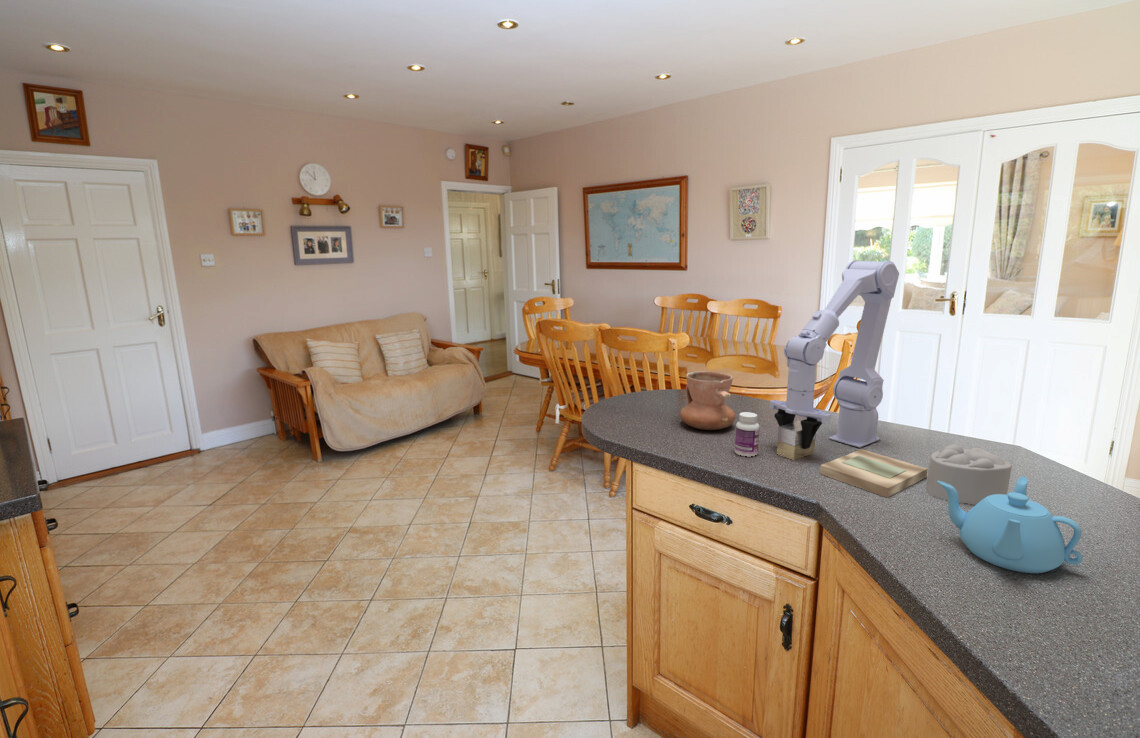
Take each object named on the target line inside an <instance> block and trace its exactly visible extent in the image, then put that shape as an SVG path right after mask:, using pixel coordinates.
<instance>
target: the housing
mask: <svg viewBox="0 0 1140 738" xmlns="http://www.w3.org/2000/svg"><path fill="white" fill-rule="evenodd" d="M801 421H802V420H801V419H800V420H796V421H794V422H792V423H789V424H786V425H783V426H779V425H778V430H777V431H778V432H777V445H776V446H777V447H776V455H777V454H778V455H777V456H779V455H781V456H780V457H782V456H783V457H782V458H785V457H786V459H788V458H789V459H788V460H790V459H792V460H791V461H793V460H794V461H796V459H797V460H799V459H802V458H804V456H805V457H807V456H810V455H812V453H813V454H815V447H816V439H817V438H816V436H817V432H816V433H815V435H814V438H813V440H812V443H811V446H810V448H807V449H802V426H801ZM801 457H802V458H801ZM798 458H799V459H798Z"/></svg>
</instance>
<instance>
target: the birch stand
mask: <svg viewBox="0 0 1140 738" xmlns="http://www.w3.org/2000/svg"><path fill="white" fill-rule="evenodd" d="M928 470H929V468H927V467H923V466H920V465H916V464H912V463H910V462H908V461H907V462H906V461H902V460H900V459H896V458H893V457H889V456H887V455H882V454H879V453H876V452H873V451H869V450H866V449H863V448H860V449H858V450H856V451H853V452H850V453H848V454H846V455H843V456H840V457H838V458H835V459H833V460H830V461H827V462H825V463H822V464H820V470H819V471H820V472H819V475H822V476H825V477H827V476H828V478H831V479H834V480H836V481H838V482H842V483H845V484H848V485H850V486H853V487H855V486H856V487H855V488H858V487H859V488H858V489H861V488H862V489H861V490H864V489H865V491H866V490H867V492H869V493H873V494H876V495H879V496H881V497H883V498H886V499H888V498H889V497H891V496H893V495H895V494H897V493H899V492H901V491H903V490H905V489H907V488H908V487H911V486H913V485H915V484H917V483H919V482H921V481H922V479H923V480H925V479H927V477H928ZM924 478H925V479H924ZM920 480H921V481H920ZM918 481H919V482H918Z"/></svg>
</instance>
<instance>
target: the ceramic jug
mask: <svg viewBox="0 0 1140 738" xmlns="http://www.w3.org/2000/svg"><path fill="white" fill-rule="evenodd" d="M685 378H686V386H685V397H686V401H687V405H684V406H683V407H682V409H681V411H680V418H681V420H682V422H684V423H685V424H686V425H687V426H689V427H691V428H694V429H698V430H702V431H717V430H723V429H725V428H728V427H730V426H731V425H733V423H734V422H735V420H736V413H735V411H734V409H732V408H731V407H730V406H728V405H727V404H726V403H725V400H726V399H728V398H729V397H731V394H730V389H731V387H732V384H733V376H732V375H731V374H727V373H721V372H717V371H716V372H715V371H709V370H702V371H701V370H698V371H692V372H687V374H686V377H685Z"/></svg>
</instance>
